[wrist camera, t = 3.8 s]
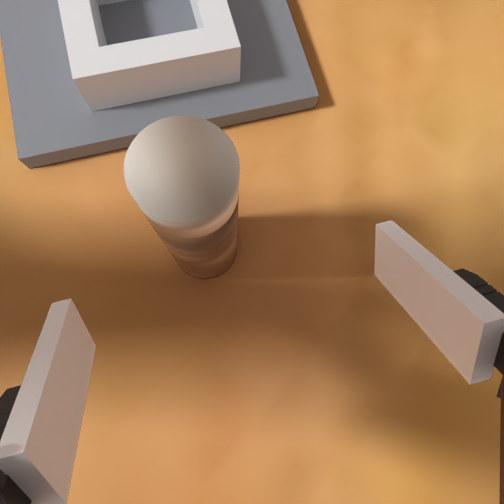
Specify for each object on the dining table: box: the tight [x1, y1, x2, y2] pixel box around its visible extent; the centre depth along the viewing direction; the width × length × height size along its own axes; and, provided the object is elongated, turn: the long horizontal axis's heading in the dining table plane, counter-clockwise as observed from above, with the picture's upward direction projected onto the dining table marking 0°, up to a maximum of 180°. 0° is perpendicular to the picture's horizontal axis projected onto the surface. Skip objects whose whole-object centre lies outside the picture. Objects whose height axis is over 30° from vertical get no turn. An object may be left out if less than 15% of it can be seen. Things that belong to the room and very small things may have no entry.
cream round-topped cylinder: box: [124, 115, 240, 279], centre depth 21 cm, size 4×4×13 cm
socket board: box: [0, 0, 319, 169], centre depth 29 cm, size 22×16×5 cm
